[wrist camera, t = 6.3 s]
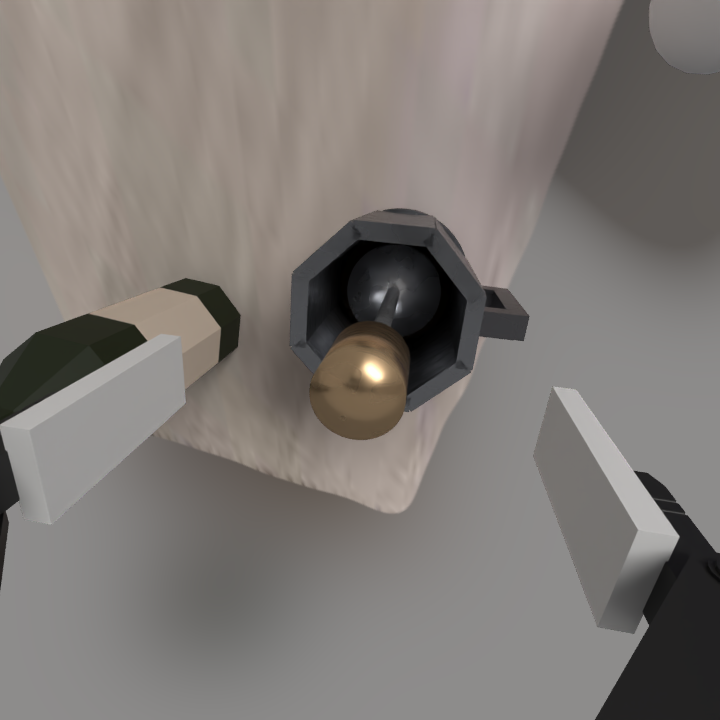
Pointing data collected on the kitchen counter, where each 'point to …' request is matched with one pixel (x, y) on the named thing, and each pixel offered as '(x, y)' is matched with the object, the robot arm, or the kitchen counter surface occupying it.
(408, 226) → the dark grey mug
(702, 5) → the white rounded cylinder
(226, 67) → the kitchen counter surface
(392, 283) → the plunger
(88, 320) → the wine bottle
